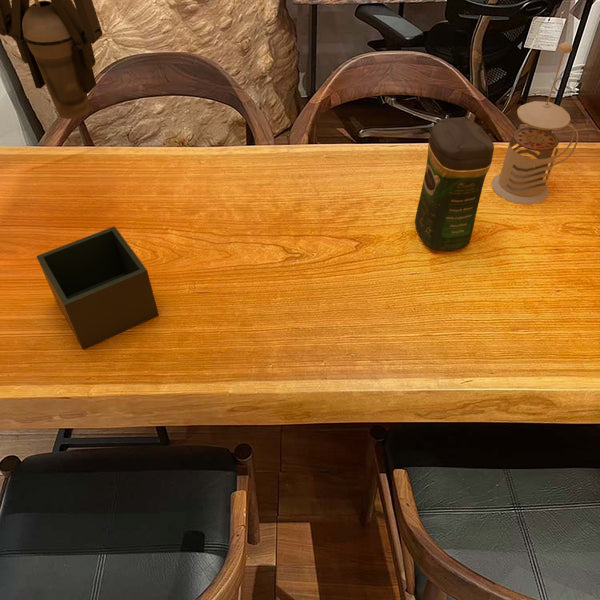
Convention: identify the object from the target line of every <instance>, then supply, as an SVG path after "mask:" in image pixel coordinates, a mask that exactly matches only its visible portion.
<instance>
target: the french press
mask: <svg viewBox="0 0 600 600" xmlns="http://www.w3.org/2000/svg"><path fill="white" fill-rule="evenodd" d="M557 51H558V52H560V53H562V55H561V58H560V61H559V65H558V67H557V71H556V72H555V73H556V74H555V76H554V79H553V82H552V86H551V89H550V92H549V94H548V95H549V96H548V98H547V101H539V100H534V101H529V102H526V103H524V104H522V105H520V106H519V107H518V108H517V110H516V113H517V118H518V119H519V120H520V122H522V123H523V124H524V125H526V126H524V127H520V128H518V129H516V130H515V131H514V133H513V134H512V137H511V138H510V140H509V143H508V145H507V150H506V152H505V156H504V160H503V163H502V166H501V170H500V173H499V174H497V175H495V176H494V177H493V178H492V180H491V189H492V190H493V191H494V193H496V195H497V196H499V197H501V198H503V199H504V200H505V201H508V202H511V203H514V204H518V205H519V204H520V205H535V204H539V203H542V202H543V201H545V200H547V199H548V197H549V195H550V189H549V186H548V185H547V182H548V180H549V178H550V174H551V173H552V170H553V167H555V166H556V165H559V164H562V163H564V162H565V161H567V159H568V158H570V157H571V155H572V154H573V153H574V151H575V150H576V148H577V145H578V142H579V133H578V130H577V129H576V127H575V126H574V125H573V123H572V122H571V117H570V113H569V112H568V111H566V109H564V107H563V106H562V107H561V106H560V105H557V104H555V103H553V102H552V101H550V99H551V96H552V93H553V90H554V87H555V85H556V84H555V83H556V81H557V77H558V75H559V72H560V68H561V65H562V63H563V59H564V56H565V54H571V52H572V51H573V46H572V43H571V42H570V41H569V42H568V41H564V42H562V43H559V45H558V47H557ZM568 127H569V128H570V129H572V135H571V139H570V142H569V143H568V145H567V146H566V148H565V149H564V150H563V151H562V152H561V153H559V154H558V152H559V149H558V145H559V144H560V140H559V137H558V136H557V135H556V134H555V133H554V132H553V131H557V130H560V131H561V132H562V133H565V131H566V130H567V128H568ZM563 128H564V129H563ZM575 137H576V139H575V143H574V145H573V148H572V150H571V151H570V152H569V154H568V155H567V156H566V157H565V158H563V159H562V160H560V161H556V162H555V160H556V159H557V158H559V157H561V156H563V154H565V153H566V152H567V150H568V149H569V148H570V146H571V145H572V143H573V140H574V138H575ZM514 146H515V147H514ZM513 147H514V148H513ZM521 148H524V149H521ZM518 149H519V150H518ZM554 149H555V150H554ZM517 150H518V151H517ZM537 152H538V153H537ZM522 154H528V155H530V156H533V158H532V157H529V156H527V155H522ZM557 154H558V155H557ZM552 155H553V156H552ZM534 157H535V158H534ZM544 178H545V179H544Z"/></svg>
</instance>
